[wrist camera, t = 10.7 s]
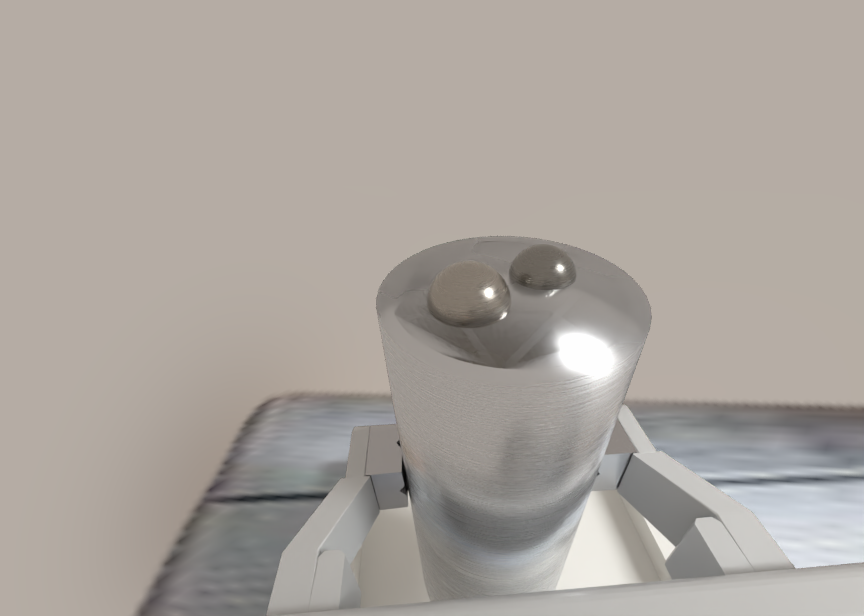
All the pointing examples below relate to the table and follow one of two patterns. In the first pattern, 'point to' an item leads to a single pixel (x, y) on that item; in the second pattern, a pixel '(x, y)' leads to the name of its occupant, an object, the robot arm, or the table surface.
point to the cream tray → (585, 567)
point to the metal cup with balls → (505, 401)
